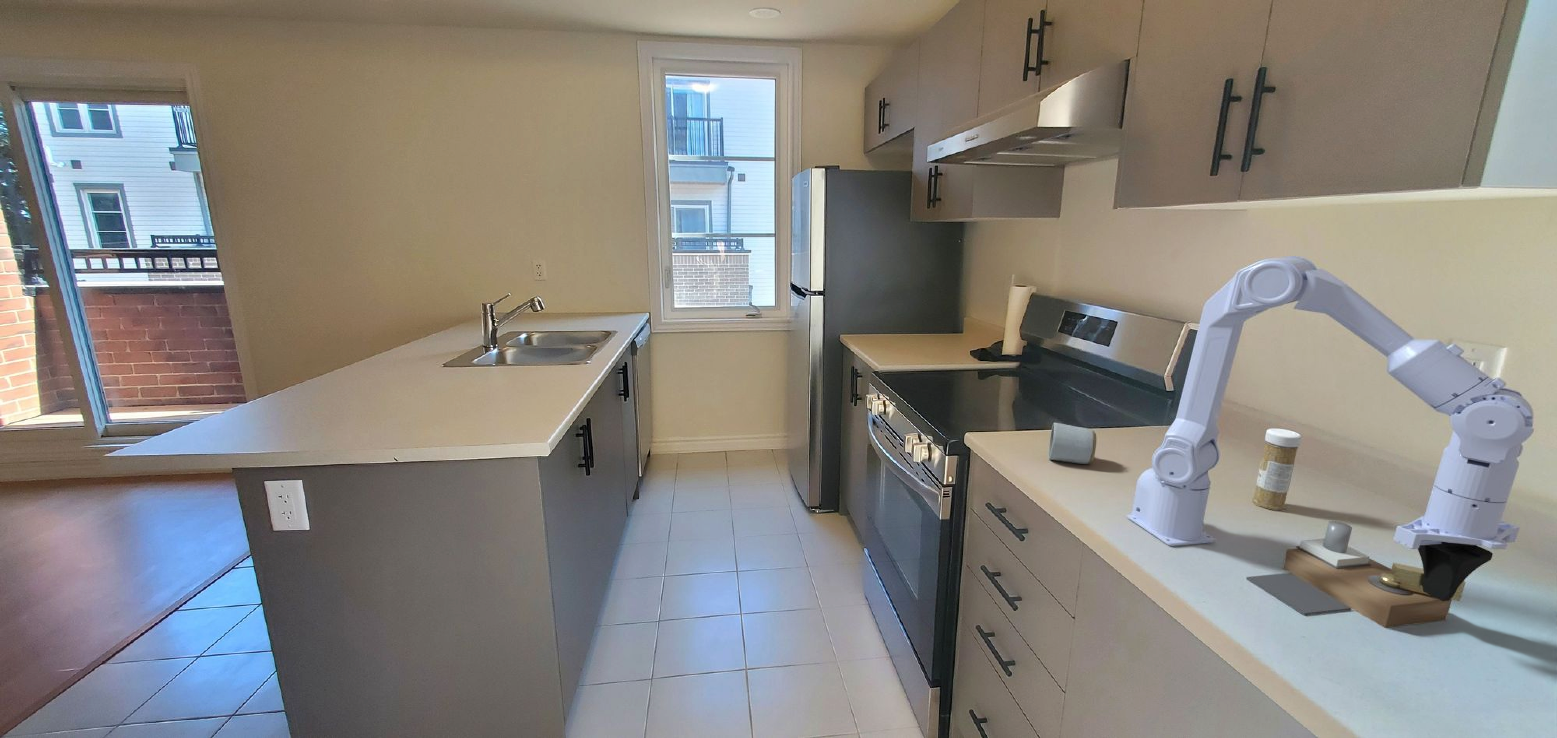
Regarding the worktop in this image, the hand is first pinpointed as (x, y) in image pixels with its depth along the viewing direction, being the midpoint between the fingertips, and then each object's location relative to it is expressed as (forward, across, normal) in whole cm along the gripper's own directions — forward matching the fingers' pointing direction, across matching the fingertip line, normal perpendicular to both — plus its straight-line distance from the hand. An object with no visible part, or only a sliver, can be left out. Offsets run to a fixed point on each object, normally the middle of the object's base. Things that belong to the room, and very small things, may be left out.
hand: (1437, 595), depth 73 cm
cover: (+1, -2, +11) cm, 11 cm away
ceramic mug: (+4, -12, +56) cm, 57 cm away
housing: (+4, -2, +7) cm, 8 cm away
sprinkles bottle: (+4, +10, +31) cm, 33 cm away
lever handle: (+1, 0, +2) cm, 2 cm away
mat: (+4, -10, +8) cm, 13 cm away
